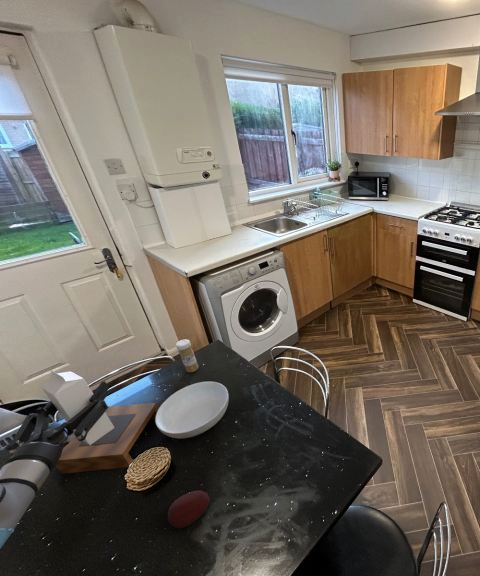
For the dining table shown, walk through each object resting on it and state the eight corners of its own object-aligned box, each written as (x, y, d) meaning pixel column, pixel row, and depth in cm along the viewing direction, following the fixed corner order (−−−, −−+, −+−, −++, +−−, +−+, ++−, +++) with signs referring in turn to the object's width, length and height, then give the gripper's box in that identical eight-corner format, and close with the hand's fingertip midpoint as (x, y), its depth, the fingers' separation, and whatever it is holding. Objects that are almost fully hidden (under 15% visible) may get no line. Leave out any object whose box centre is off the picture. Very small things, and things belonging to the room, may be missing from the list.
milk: (102, 420, 89) (65, 361, 78) (115, 427, 86) (78, 368, 76) (76, 437, 84) (33, 377, 73) (89, 446, 81) (46, 385, 71)
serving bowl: (242, 395, 113) (238, 381, 110) (214, 448, 95) (208, 434, 91) (186, 393, 113) (180, 380, 110) (146, 447, 95) (138, 432, 92)
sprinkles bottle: (188, 374, 122) (178, 348, 115) (184, 369, 124) (173, 342, 118) (201, 368, 125) (191, 342, 118) (196, 363, 127) (186, 337, 121)
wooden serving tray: (62, 473, 88) (51, 460, 85) (104, 419, 103) (96, 407, 100) (130, 466, 90) (122, 454, 87) (162, 414, 105) (156, 402, 102)
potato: (175, 506, 81) (167, 493, 78) (213, 493, 83) (207, 481, 81) (169, 538, 75) (160, 526, 72) (210, 523, 77) (203, 511, 74)
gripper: (-27, 494, 63) (44, 406, 82) (96, 466, 69) (136, 390, 88) (-51, 472, 60) (29, 386, 79) (80, 445, 65) (125, 370, 84)
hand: (85, 388), depth 83 cm, fingers closed on milk, 8 cm apart
